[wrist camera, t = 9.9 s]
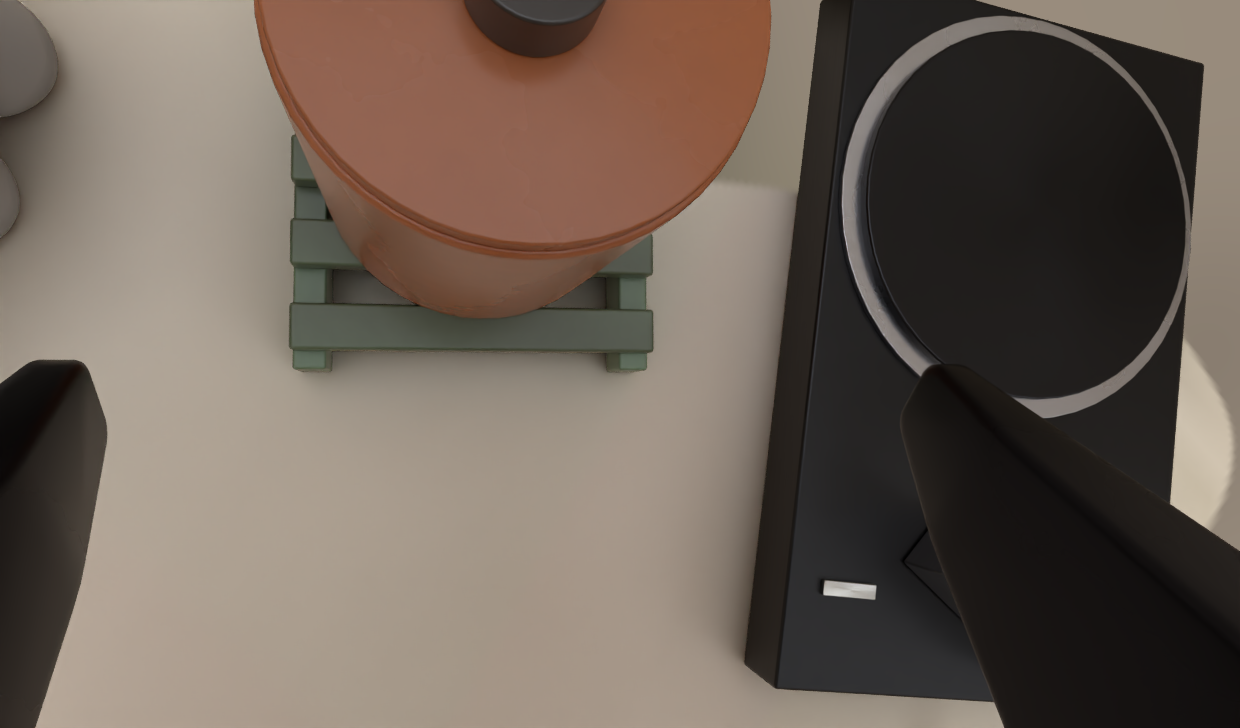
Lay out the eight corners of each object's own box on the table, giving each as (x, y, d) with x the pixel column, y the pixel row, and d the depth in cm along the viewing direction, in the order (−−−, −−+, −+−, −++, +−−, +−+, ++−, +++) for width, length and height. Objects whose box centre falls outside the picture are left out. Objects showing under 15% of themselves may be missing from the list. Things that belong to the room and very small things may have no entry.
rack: (632, 372, 22) (667, 367, 19) (300, 371, 20) (280, 366, 17) (630, 27, 22) (663, -31, 19) (304, -7, 20) (286, -76, 17)
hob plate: (1170, 442, 23) (1186, 443, 23) (815, 389, 21) (825, 388, 20) (1199, 68, 24) (1215, 61, 23) (862, -26, 21) (872, -35, 21)
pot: (629, 322, 20) (817, 249, 10) (319, 316, 18) (221, 226, 9) (627, 33, 20) (807, -281, 11) (321, 2, 18) (230, -397, 9)
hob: (1090, 762, 24) (1154, 797, 22) (733, 747, 22) (766, 783, 20) (1146, 88, 26) (1211, 60, 24) (819, 1, 23) (859, -38, 21)
